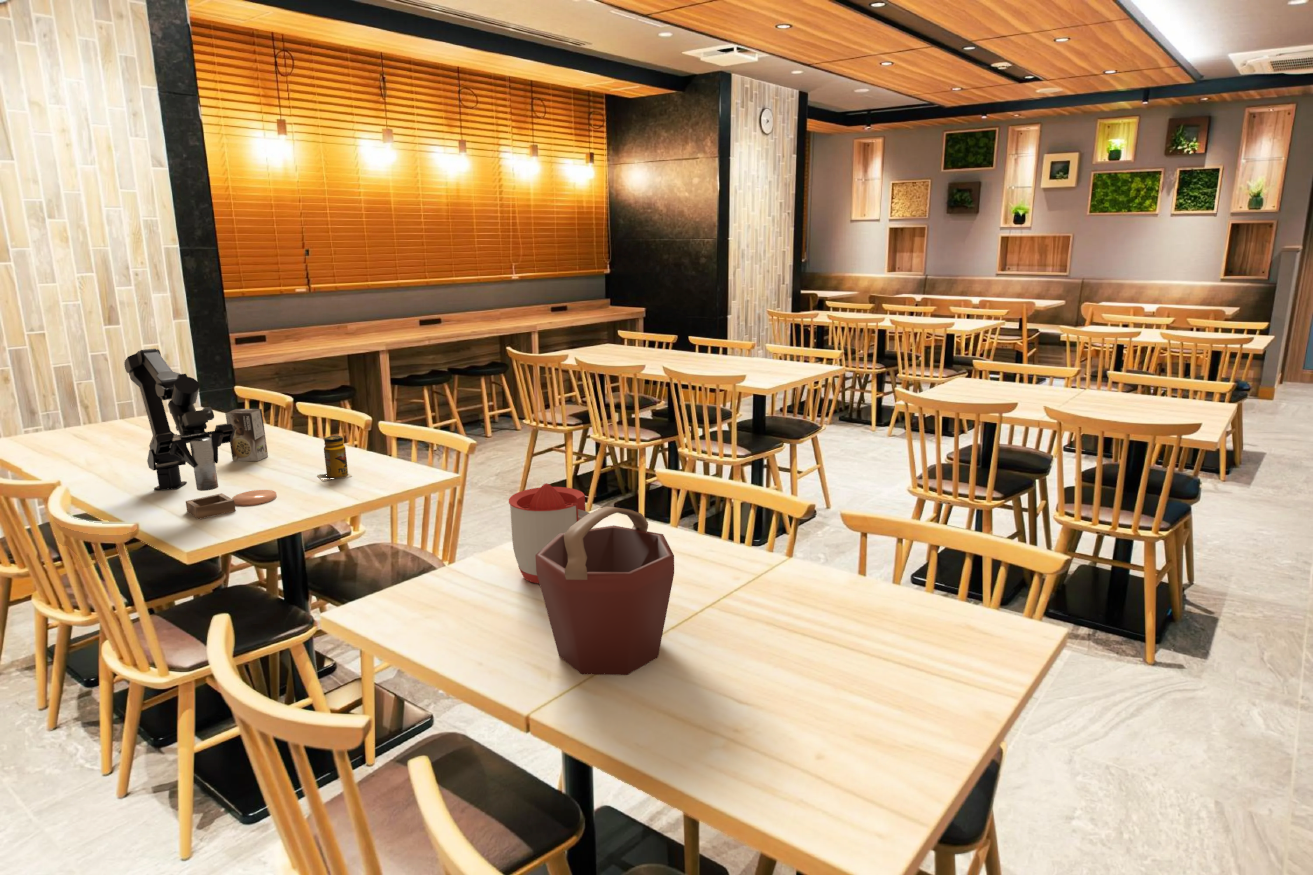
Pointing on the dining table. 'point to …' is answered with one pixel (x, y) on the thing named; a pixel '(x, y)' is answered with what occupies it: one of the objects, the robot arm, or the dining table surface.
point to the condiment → (335, 458)
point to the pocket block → (210, 506)
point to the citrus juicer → (541, 521)
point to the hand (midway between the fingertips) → (205, 464)
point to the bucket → (607, 593)
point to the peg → (204, 464)
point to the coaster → (254, 497)
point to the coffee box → (247, 435)
